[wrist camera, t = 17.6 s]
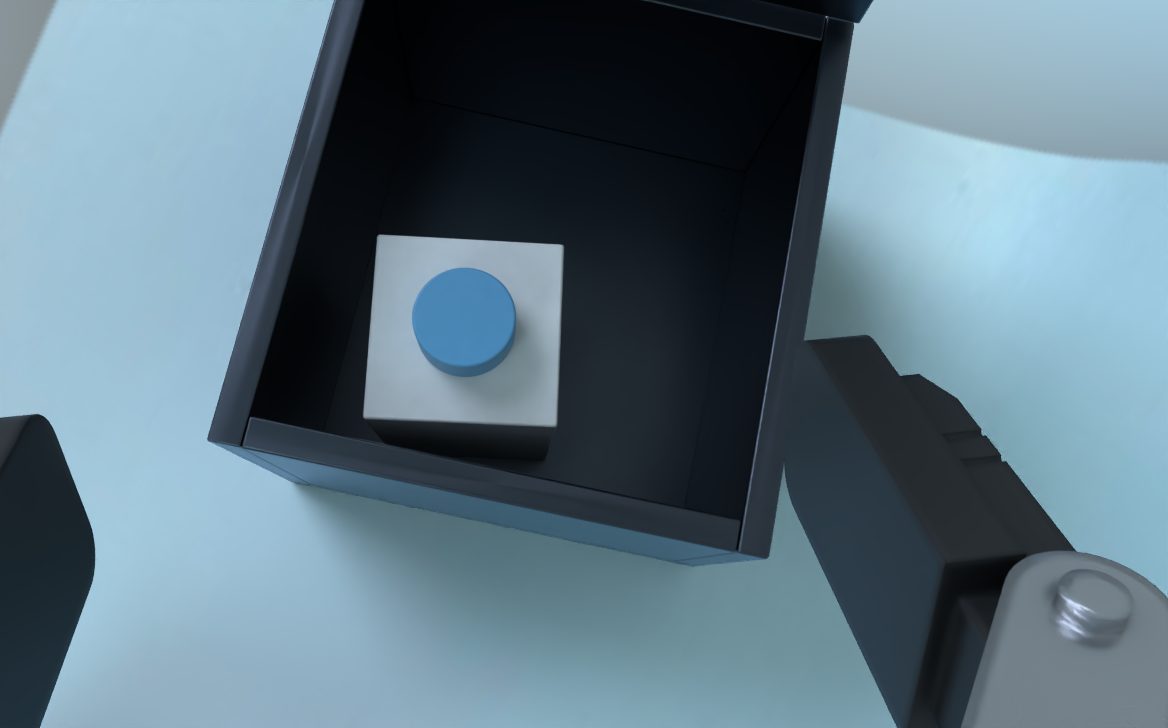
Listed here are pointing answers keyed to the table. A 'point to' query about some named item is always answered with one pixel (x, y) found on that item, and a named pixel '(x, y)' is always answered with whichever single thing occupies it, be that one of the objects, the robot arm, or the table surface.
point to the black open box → (591, 253)
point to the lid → (829, 7)
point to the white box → (465, 346)
